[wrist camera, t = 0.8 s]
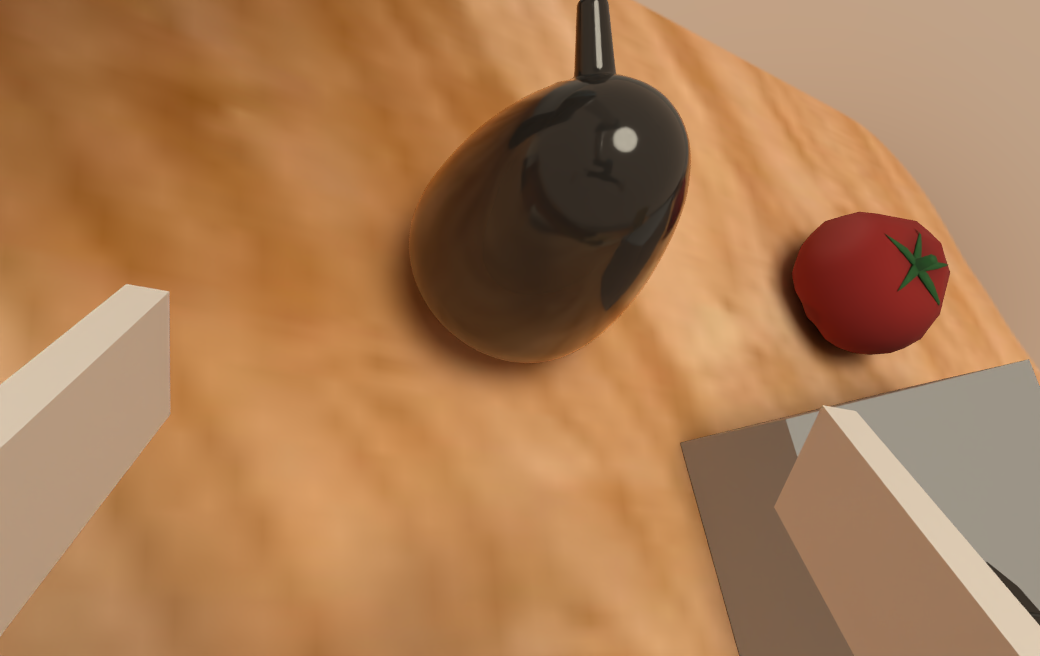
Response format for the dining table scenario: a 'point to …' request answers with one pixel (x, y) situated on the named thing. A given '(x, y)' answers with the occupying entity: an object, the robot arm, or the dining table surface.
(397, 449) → the dining table surface
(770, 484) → the slate block
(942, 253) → the tomato
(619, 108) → the pump dispenser
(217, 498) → the dining table surface
